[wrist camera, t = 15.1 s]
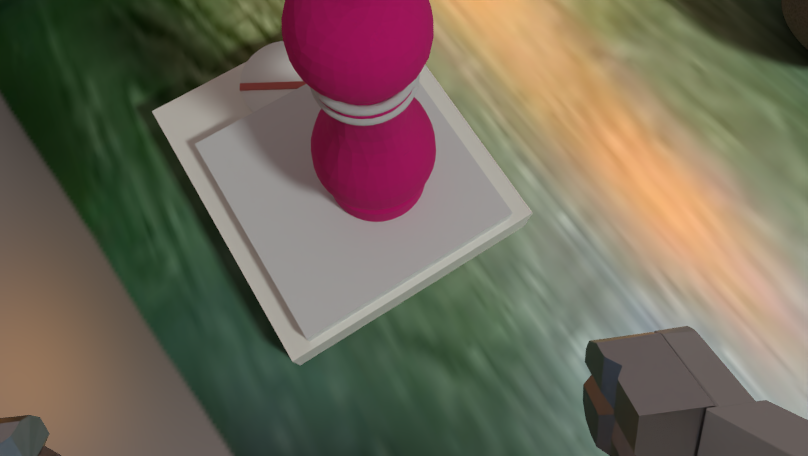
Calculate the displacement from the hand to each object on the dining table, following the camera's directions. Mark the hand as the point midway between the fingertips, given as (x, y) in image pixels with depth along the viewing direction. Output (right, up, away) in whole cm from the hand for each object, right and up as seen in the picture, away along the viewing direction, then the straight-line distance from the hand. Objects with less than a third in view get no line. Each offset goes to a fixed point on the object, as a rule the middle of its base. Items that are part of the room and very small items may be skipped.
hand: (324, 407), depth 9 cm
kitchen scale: (-3, +6, +35) cm, 35 cm away
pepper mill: (-1, +6, +30) cm, 31 cm away
